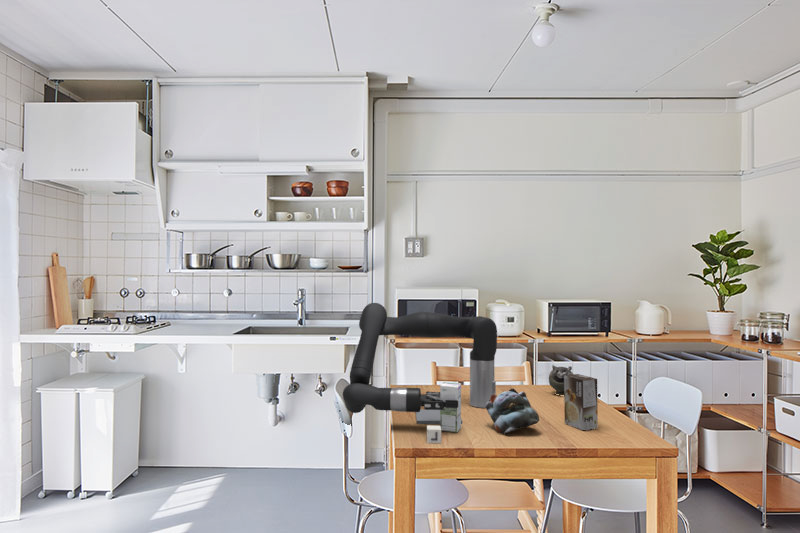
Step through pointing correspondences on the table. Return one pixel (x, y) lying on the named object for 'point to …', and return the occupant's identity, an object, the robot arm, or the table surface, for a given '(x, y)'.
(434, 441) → the white letter cube
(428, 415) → the grey board
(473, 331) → the robot arm
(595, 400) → the coffee box
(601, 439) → the table surface
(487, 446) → the table surface
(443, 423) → the syrup box
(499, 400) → the lucky cat figurine
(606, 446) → the table surface
